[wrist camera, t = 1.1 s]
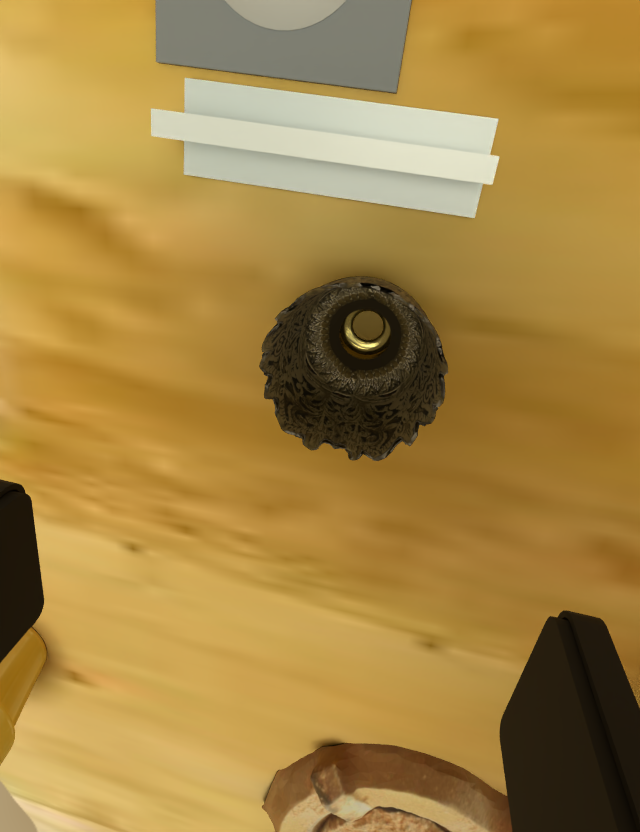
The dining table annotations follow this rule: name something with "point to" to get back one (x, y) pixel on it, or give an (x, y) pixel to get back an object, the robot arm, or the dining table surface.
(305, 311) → the ornate metal lamp shade
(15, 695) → the plant pot
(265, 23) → the rest pad
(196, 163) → the low wall
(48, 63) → the dining table surface
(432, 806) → the ashtray
